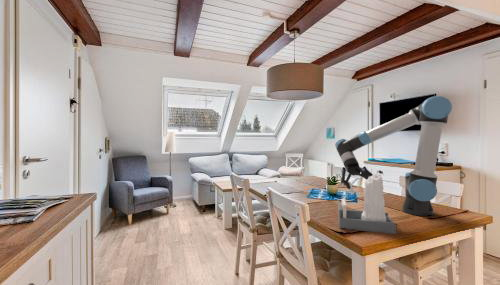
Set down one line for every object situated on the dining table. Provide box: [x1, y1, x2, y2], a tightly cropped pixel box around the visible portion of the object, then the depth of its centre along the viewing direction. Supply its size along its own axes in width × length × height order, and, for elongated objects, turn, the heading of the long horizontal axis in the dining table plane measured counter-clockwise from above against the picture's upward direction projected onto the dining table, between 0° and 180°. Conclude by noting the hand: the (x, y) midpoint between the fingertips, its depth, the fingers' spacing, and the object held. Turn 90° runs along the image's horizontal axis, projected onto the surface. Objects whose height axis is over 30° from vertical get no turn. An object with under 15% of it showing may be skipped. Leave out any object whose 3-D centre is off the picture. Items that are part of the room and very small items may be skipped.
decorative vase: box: [362, 173, 386, 222], centre depth 116 cm, size 11×11×25 cm
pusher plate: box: [341, 198, 347, 218], centre depth 120 cm, size 2×13×10 cm, turn 161°
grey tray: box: [337, 201, 397, 235], centre depth 117 cm, size 24×16×9 cm, turn 71°
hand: (365, 193), depth 121 cm, fingers open, 13 cm apart
